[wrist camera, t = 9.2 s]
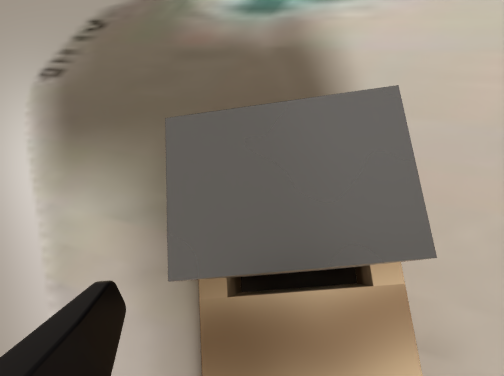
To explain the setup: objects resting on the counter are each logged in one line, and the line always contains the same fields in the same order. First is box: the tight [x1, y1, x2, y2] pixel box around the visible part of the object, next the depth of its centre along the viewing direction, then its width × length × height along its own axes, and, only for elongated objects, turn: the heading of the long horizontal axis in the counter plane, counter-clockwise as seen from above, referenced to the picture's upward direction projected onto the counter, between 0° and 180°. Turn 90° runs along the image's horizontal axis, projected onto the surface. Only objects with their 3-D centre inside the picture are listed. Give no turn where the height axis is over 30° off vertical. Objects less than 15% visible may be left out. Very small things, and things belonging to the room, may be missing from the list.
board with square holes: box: [199, 262, 422, 376], centre depth 16 cm, size 18×9×4 cm, turn 5°
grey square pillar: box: [165, 85, 437, 281], centre depth 13 cm, size 4×5×13 cm
